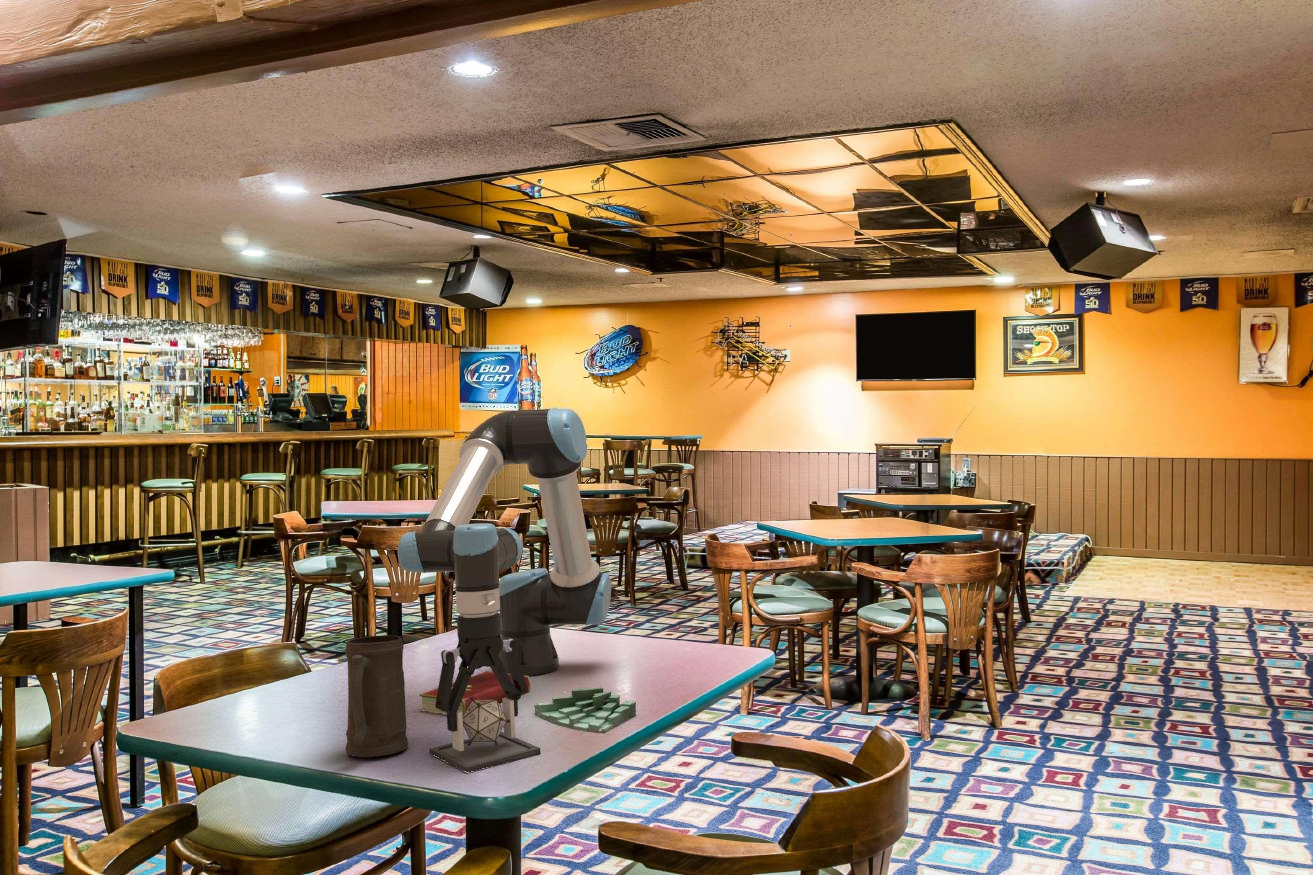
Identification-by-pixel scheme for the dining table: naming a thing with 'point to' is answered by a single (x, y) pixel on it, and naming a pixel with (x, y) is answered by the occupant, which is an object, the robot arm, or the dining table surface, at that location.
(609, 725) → the green curved brick section
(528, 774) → the dining table surface
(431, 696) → the hardcover book
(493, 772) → the dining table surface
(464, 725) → the game die
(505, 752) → the mat
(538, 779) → the dining table surface
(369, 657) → the beer stein
